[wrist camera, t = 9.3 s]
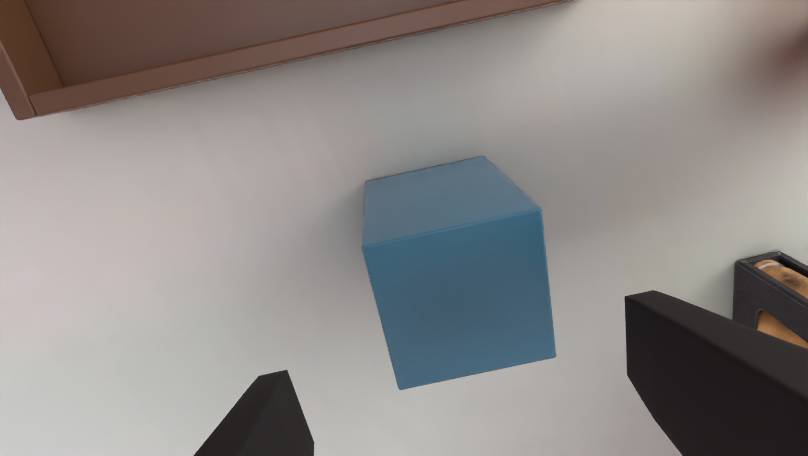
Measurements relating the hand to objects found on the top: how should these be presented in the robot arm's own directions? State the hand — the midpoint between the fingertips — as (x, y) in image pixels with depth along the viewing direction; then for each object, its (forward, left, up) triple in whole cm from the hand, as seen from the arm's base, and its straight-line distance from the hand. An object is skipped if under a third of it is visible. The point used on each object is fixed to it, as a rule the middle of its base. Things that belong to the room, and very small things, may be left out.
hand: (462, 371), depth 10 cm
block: (0, 0, -8) cm, 8 cm away
